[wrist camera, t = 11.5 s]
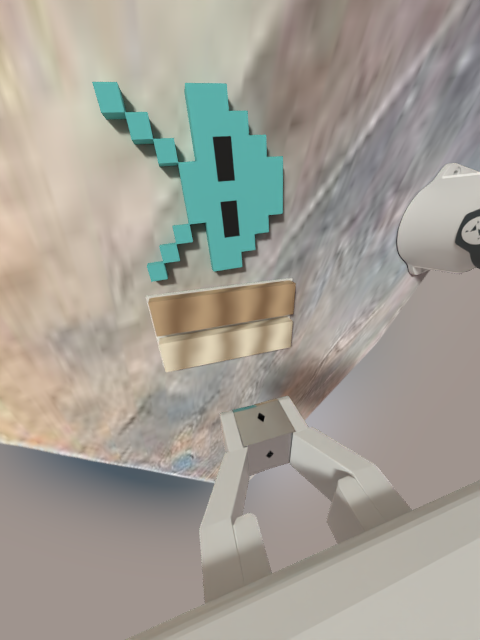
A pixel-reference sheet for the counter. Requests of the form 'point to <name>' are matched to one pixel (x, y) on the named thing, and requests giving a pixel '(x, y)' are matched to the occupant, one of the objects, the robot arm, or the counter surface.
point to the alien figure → (211, 173)
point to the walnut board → (221, 307)
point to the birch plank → (225, 343)
